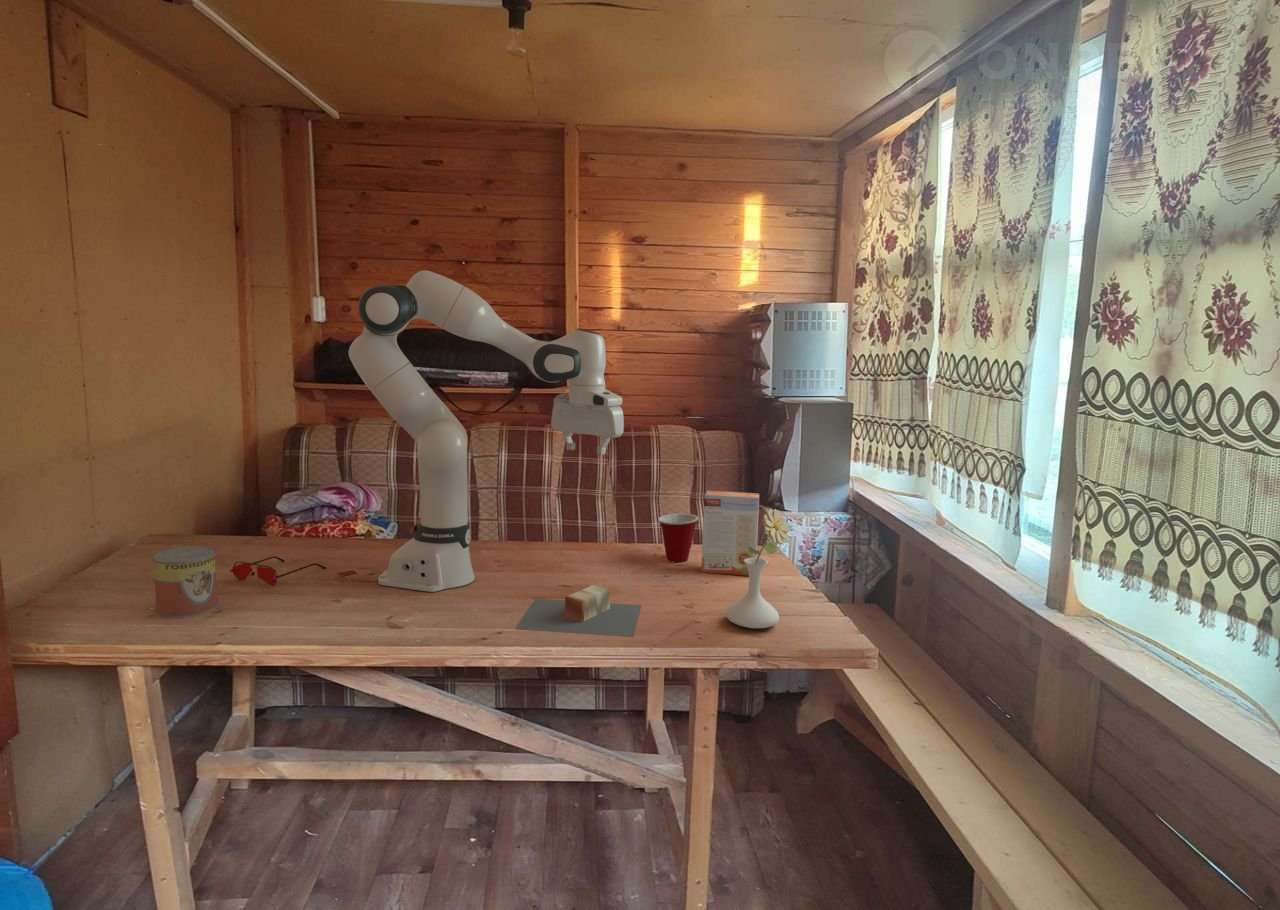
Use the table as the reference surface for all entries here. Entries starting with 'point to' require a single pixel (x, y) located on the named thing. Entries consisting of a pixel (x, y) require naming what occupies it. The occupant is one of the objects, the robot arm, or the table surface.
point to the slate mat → (553, 619)
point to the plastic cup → (678, 535)
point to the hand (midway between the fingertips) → (585, 452)
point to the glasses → (261, 571)
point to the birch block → (587, 603)
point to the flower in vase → (752, 605)
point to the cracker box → (729, 531)
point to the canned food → (185, 582)
